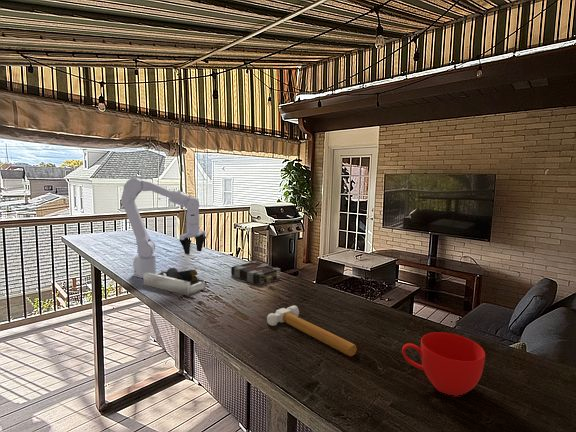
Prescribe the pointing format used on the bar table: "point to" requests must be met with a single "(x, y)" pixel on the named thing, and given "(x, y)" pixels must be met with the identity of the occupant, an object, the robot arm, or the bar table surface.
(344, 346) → the hammer
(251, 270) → the book
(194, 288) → the white long box
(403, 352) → the ceramic cup
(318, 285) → the bar table surface
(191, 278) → the pipe connector
